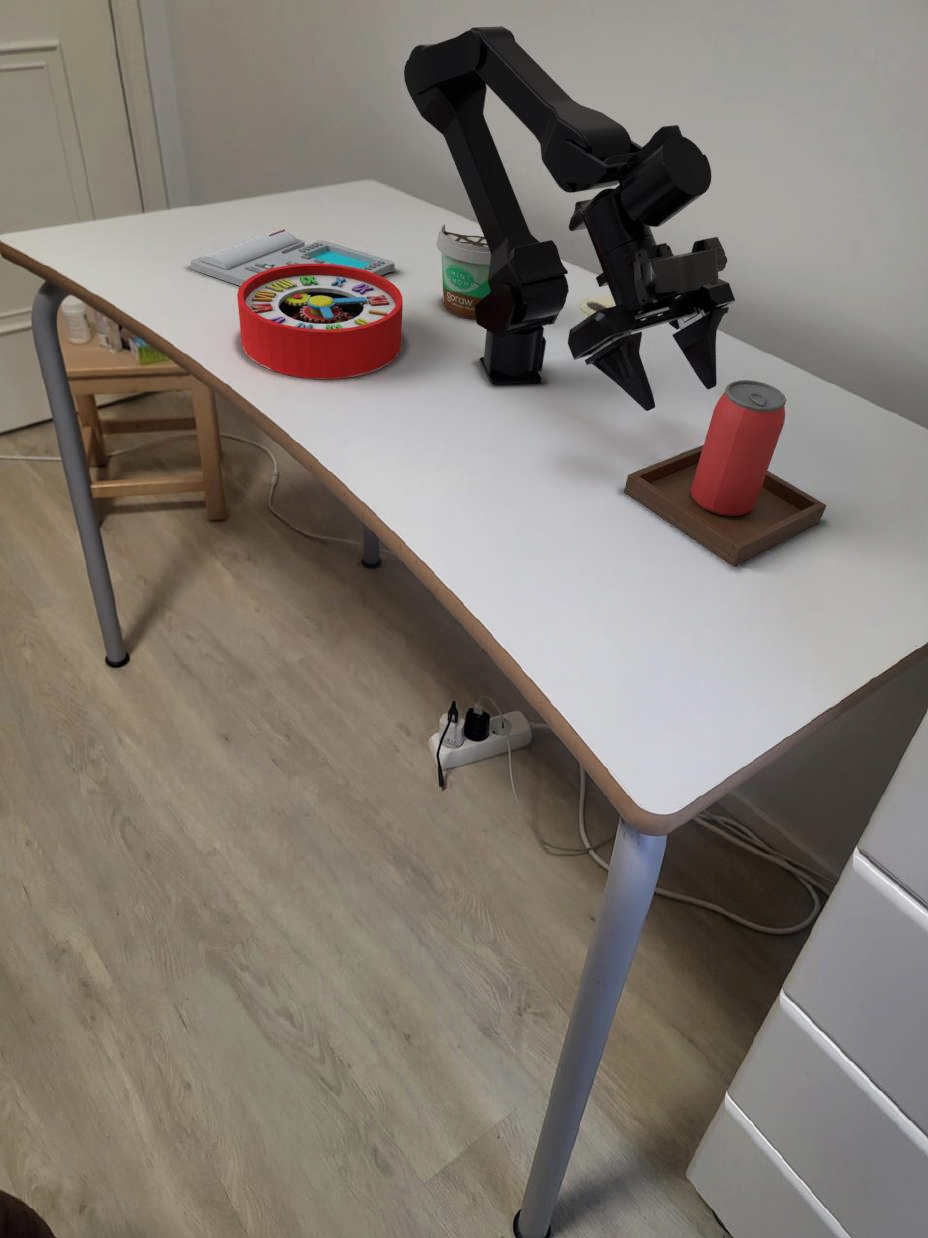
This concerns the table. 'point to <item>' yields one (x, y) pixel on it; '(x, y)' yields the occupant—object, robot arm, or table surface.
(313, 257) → the office telephone
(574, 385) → the table surface
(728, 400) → the beer can
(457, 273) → the food container
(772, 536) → the tray
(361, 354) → the toy clock
